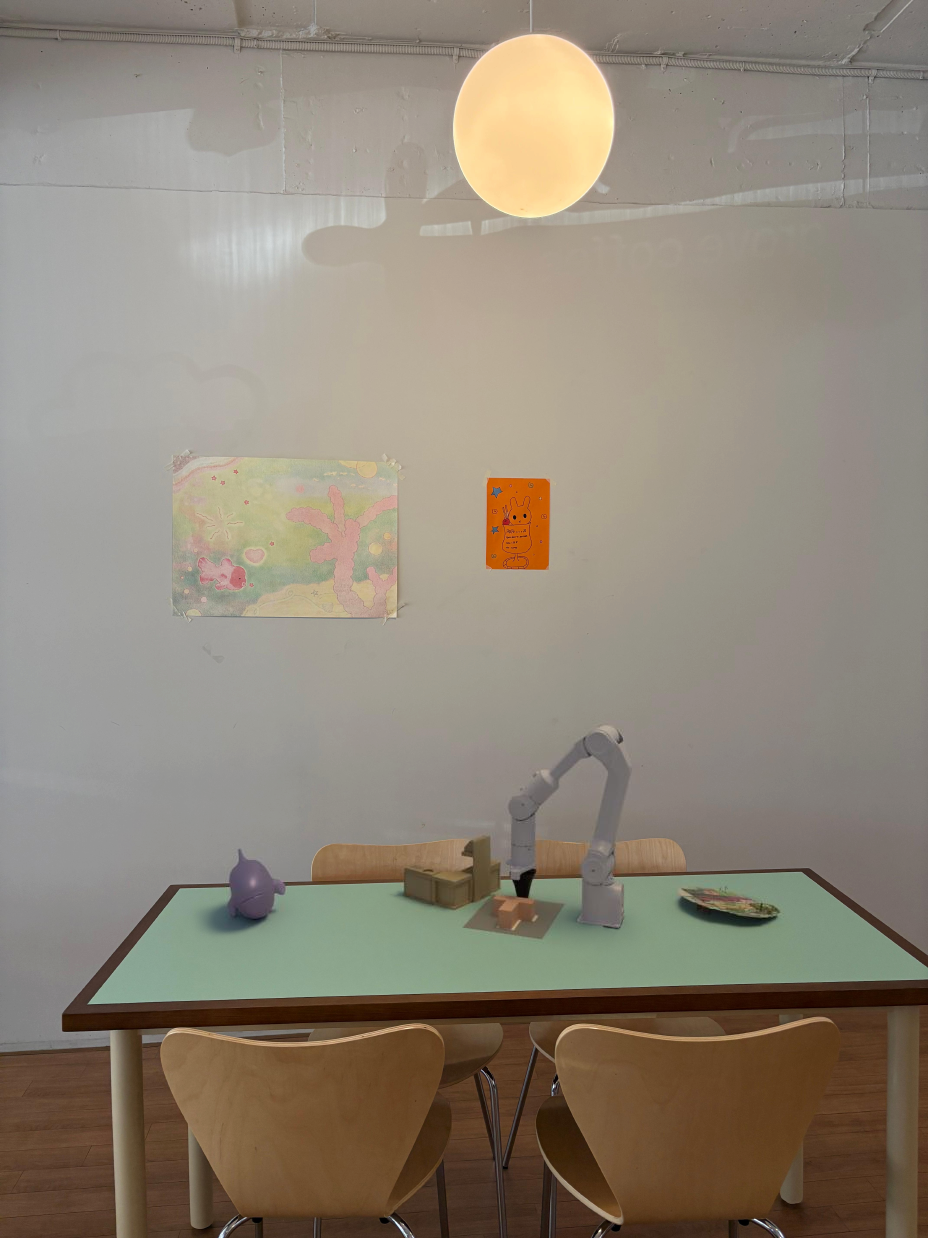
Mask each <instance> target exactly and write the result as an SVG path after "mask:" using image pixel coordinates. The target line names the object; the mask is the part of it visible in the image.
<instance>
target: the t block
mask: <svg viewBox="0 0 928 1238" xmlns="http://www.w3.org/2000/svg"><path fill="white" fill-rule="evenodd" d="M495 895H496V897H495V898H494V903H493V916H496V917H498V928H505V929H512V928H513V927H514V925H515V924H516V923H517V921H518V920H525V921H532V920H533V919H534V917H535V900H536V899H534V898H529V897H528V898H521V897H517V896H512V895H504V894H495Z"/></svg>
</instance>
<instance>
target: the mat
mask: <svg viewBox="0 0 928 1238" xmlns="http://www.w3.org/2000/svg"><path fill="white" fill-rule="evenodd" d="M496 895H497V894H493V893H491V895H490V896H489V897H488V898H487V900H486V901H485V902H484V903H483V904H482V905H481V906H480V907H479V909H477V910H476V912H475V913H474V914H473V915H472V916H471V918H470V919H469V920H468V921H467V922H466V923H465V924H464V925H463V926H462V928H465V929H470V930H477V931H485V932H490V933H496V934H497V933H499V934H505V935H514V936H519V937H526V938H531V939H532V938H533V939H538V940H539V939H540V940H542V939H544V937H545V936H546V934H547V933H548V931H549V929H550V927H551V926H552V924H553V923H554V921H555V920H556V919H557V917H558V915H559V914H560V912H561V910H562V909H563V907H564V906H565V903H560V902H552V901H544V900H537V899H535V917H534V919H533V920H532V921H525V920H518V921H517V923H516V924H515V925H514V927H513V928H512V929H505V928H498V917H496V916H493V903H494V898H495V897H496Z"/></svg>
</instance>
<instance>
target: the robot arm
mask: <svg viewBox="0 0 928 1238" xmlns="http://www.w3.org/2000/svg"><path fill="white" fill-rule="evenodd" d="M590 757H594V758H595V759H596V760H597V761H599V762H600V763H601V764H602V766H603V767H604V768H605V770H606V771H607V776H606V777H607V778H606V782H605V786H604V790H603V793H602V794H603V795H602V799H601V803H600V808H599V812H598V815H597V821H596V824H595V828H594V832H593V837H592V840H591V842H590V845H589V848H588V851H587V855H586V856H585V857H584V858H583V860H582V861H581V862H580V865H579V866H580V867H579V873H580V875H581V877H582V878H581V881H582V882H581V913H580V915H579V916H578V917H577V920H576V922H577V923H581V924H589V925H595V926H596V925H597V926H602V927H609V928H615V929H616V928H617V929H619V928H620V927H621V925H622V923H623V920H624V918H625V884H624V883H622V882H618V881H616V880H615V877H614V875H613V873H612V871H613V870H614V869H615V868H616V864H617V859H616V854H615V852H616V851H615V850H616V838H617V833H618V829H619V825H620V821H621V816H622V813H623V808H624V803H625V799H626V795H627V791H628V787H629V783H630V778H631V774H632V768H633V765H632V761H631V759H630V755H629V751H628V749H627V746H626V739H625V737H624V736H623V734H622V733H621V731H619V729H618V728H617V726H614V725H613V724H609V723H603V724H600V725H599V726H598V727H597V728H594V729H592V730H590V731H589V732H587V734H586V735H584V736H583V737H581V738H580V739H578V740H577V741H576V742H575V743H574V742H573V744H572V745H571V747H569V748H568V750H566V752H564V754H563V755H562V756H561V757H560V758H559V759H558V760H557V762H555V764H554V765H552V766H551V768H549V769H540V771H538V770H537V771H535V772H534V773H533V774H532V777H533V778H531V780H530V781H529V782H528V783H527V784H526V785H523V786H521V787H519V791H520V792H519V793H517V794H516V795H513V796H511V799H510V800H509V802H508V805H507V810H508V813H509V815H510V816H511V823H510V824H511V825H510V826H511V827H510V828H511V829H510V832H511V833H510V843H511V844H510V846H511V847H510V858H509V859H507V860H506V861H505V865H508V866H510V869H511V870H510V871H509V878H510V880H511V881H512V884H513V885H514V891H515V895H516V896H515V897H521V898H528V899H529V897H530V892H531V887H532V883H533V880H534V878H535V876H536V874H537V869H536V867H537V862H536V813H537V812H538V810H539V808H540V806H542V805H543V804H544V803H545V802H546V801H547V800H548V799H550V797H551V796H552V795H553V794H555V793H556V792H557V790H559V788H560V779H562V778H563V776H564V775H566V774H567V773H568V772H569V771H570V770H571V769H572V768H573V767H574V766H575V765H577V763H579V762H580V761H581V760H582V759H588V758H590Z"/></svg>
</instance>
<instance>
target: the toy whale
mask: <svg viewBox="0 0 928 1238" xmlns="http://www.w3.org/2000/svg"><path fill="white" fill-rule="evenodd" d="M237 852H238V862H237V864H236V865H235V866H234V867H233V868H232V869H231V870H230V873H229V879H228V884H229V890H230V893H231V894H230V898H229V900H228V902H227V910H228V912H229V913H230V914H231V916H233V917H236V916H237V915H238V912H240V913H241V914H242V915H243V916H244V917H245V918H248V919H252V920H254V919H255V920H257V919H260V918H263V917H265V916H267V914H269V913H270V911H271V910H272V908H273V906H274V905H275V894H277V895H281V896H284V895H285V894H286V887H287V886H286V885H285V883H284V882H283V881H281V880H280V879H276V878H273V877H272V876H271V874H270V872H269V871H268V870H267V868H266V865H264V864H263V863H262V862H260V861H259V860H256V859H247V858H246V857H245V856H244V853H243V852H242V849H241V848H238V849H237Z"/></svg>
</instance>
